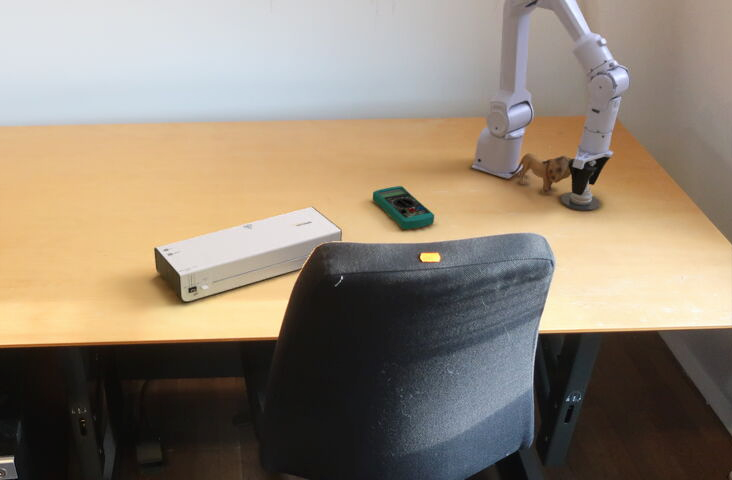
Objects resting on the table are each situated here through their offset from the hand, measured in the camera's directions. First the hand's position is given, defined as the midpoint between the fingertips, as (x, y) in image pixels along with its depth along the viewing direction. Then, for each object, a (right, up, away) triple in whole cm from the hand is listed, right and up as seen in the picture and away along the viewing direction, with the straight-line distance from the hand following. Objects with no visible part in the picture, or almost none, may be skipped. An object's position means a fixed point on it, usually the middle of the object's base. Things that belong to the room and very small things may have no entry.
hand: (583, 188), depth 184 cm
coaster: (0, -3, +2) cm, 3 cm away
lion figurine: (-7, +2, +8) cm, 11 cm away
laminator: (-71, -19, -20) cm, 76 cm away
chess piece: (0, -2, +2) cm, 3 cm away
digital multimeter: (-39, -6, -2) cm, 40 cm away
